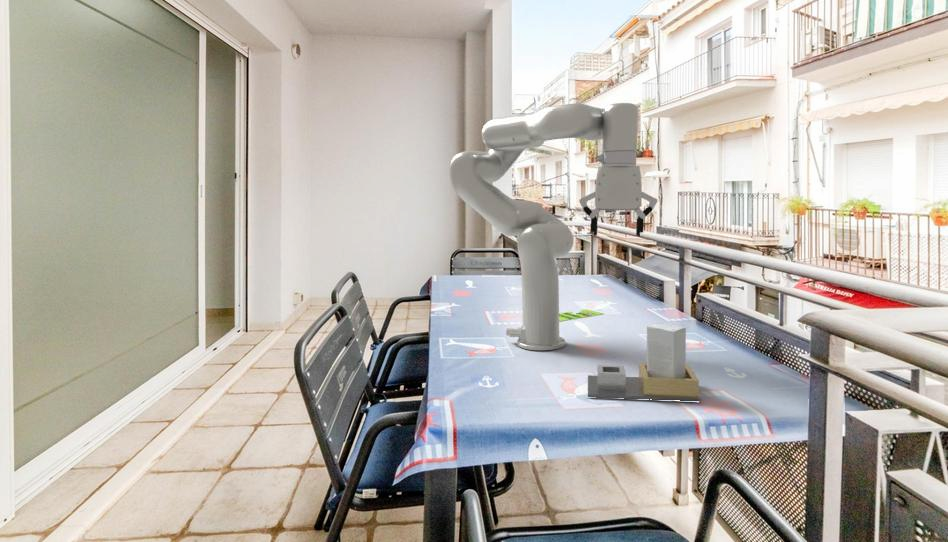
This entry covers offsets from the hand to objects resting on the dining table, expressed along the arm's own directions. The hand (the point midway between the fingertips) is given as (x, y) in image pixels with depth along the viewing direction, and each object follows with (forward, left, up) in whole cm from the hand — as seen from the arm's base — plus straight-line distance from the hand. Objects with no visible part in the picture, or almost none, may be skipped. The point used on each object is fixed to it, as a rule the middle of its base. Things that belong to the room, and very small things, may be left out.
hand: (616, 235), depth 122 cm
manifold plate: (+3, -23, -29) cm, 37 cm away
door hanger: (-14, +44, -30) cm, 55 cm away
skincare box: (+8, -22, -28) cm, 37 cm away
